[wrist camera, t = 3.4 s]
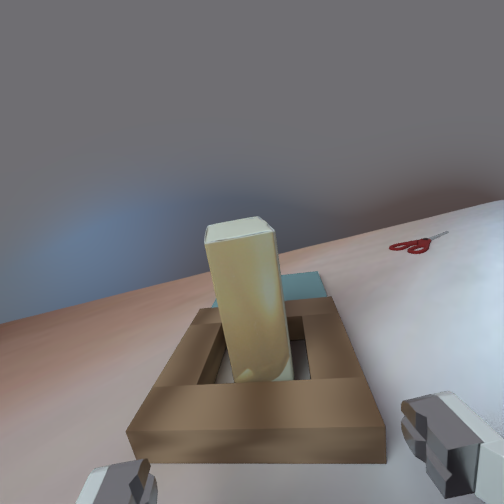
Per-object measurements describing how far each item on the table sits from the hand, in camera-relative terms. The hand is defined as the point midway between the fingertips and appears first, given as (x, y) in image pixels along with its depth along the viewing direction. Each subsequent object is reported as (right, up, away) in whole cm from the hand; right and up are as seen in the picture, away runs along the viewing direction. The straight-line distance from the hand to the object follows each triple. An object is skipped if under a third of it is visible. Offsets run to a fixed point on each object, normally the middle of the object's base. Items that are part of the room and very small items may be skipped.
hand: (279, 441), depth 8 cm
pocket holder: (0, -4, +13) cm, 13 cm away
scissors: (+30, +7, +37) cm, 48 cm away
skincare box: (0, -4, +13) cm, 13 cm away
